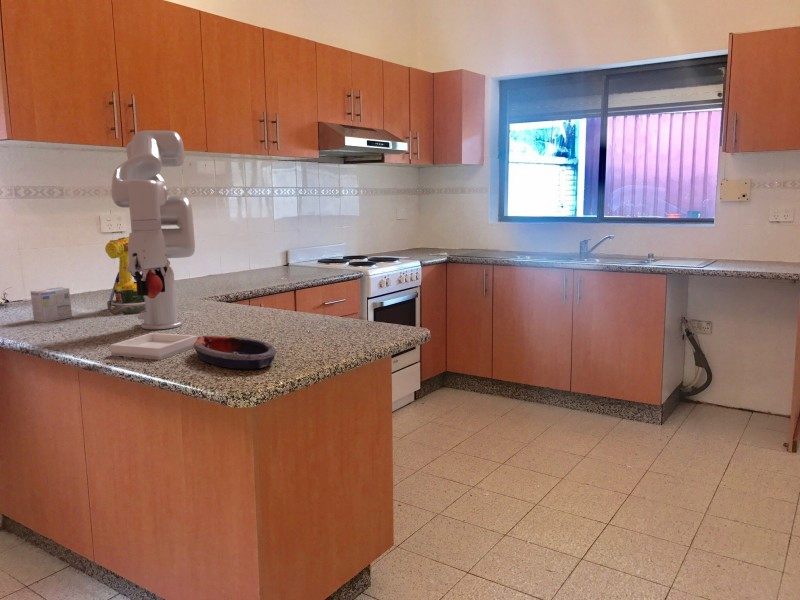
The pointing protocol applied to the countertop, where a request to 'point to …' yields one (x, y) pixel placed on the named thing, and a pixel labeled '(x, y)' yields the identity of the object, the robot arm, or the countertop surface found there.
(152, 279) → the onion
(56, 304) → the light bulb box
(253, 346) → the dish
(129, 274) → the cordless drill
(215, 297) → the countertop surface
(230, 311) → the countertop surface
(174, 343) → the tray
